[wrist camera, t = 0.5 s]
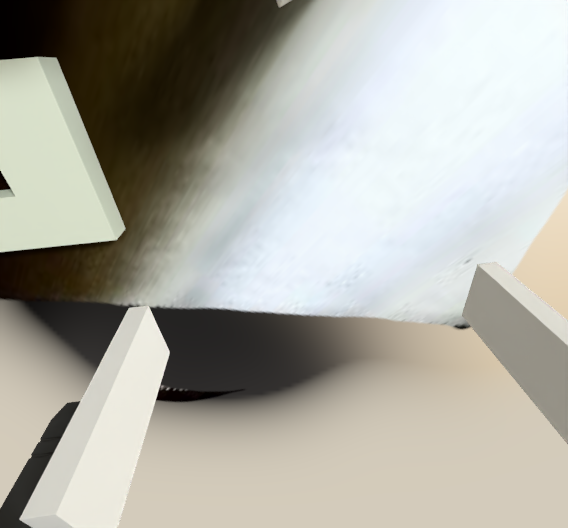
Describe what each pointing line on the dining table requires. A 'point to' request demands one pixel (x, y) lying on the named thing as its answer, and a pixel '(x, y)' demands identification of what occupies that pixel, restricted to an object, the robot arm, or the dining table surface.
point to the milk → (282, 2)
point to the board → (48, 163)
